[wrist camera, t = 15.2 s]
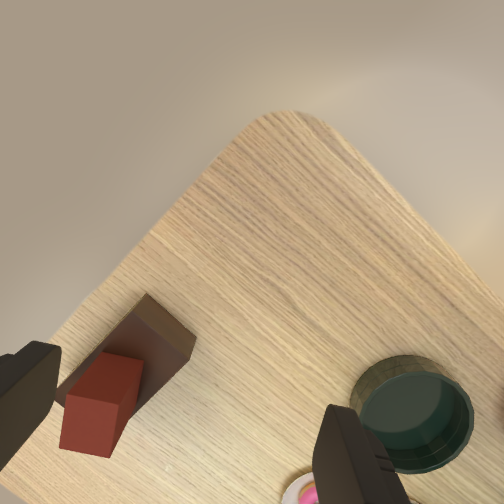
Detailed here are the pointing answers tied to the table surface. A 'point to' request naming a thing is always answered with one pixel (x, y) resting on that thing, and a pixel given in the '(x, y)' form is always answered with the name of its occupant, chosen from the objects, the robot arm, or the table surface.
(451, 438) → the dark green round dish
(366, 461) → the robot arm
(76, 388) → the red rectangular block
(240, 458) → the table surface
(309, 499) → the donut
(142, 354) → the block
